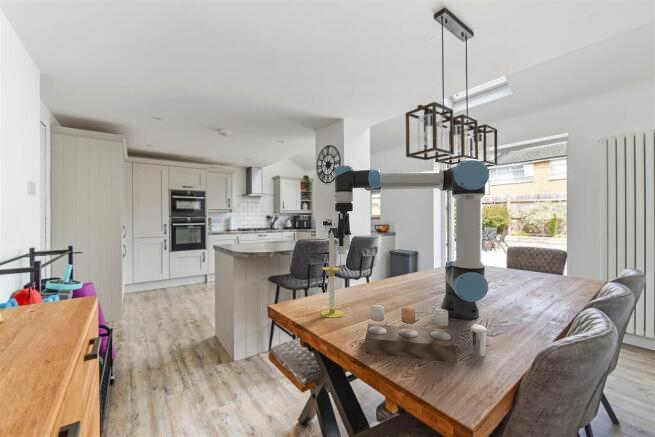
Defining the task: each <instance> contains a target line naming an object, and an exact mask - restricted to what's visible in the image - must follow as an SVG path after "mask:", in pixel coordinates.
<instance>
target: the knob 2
mask: <svg viewBox="0 0 655 437" xmlns="http://www.w3.org/2000/svg"><path fill="white" fill-rule="evenodd" d="M432 313H433V314H432V315H433V317H432V318H433V319H432V322H433V325H435V326H439V327H448V326H449V316H448V311H447V310H444V309H441V308H434V309H433V312H432Z"/></svg>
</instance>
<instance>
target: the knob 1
mask: <svg viewBox="0 0 655 437" xmlns="http://www.w3.org/2000/svg"><path fill="white" fill-rule="evenodd" d="M370 320H371V321H373V322H383V321H384V320H385V306H383V305H380V304H373V305H370Z"/></svg>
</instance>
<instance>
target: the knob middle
mask: <svg viewBox="0 0 655 437" xmlns="http://www.w3.org/2000/svg"><path fill="white" fill-rule="evenodd" d="M400 311H401V316H400V317H401V318H400V321H401V322H402V323H404V324H408V325H411V324H415V323H416V309H415V308H414V307H411V306H402V307H401V310H400Z"/></svg>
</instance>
